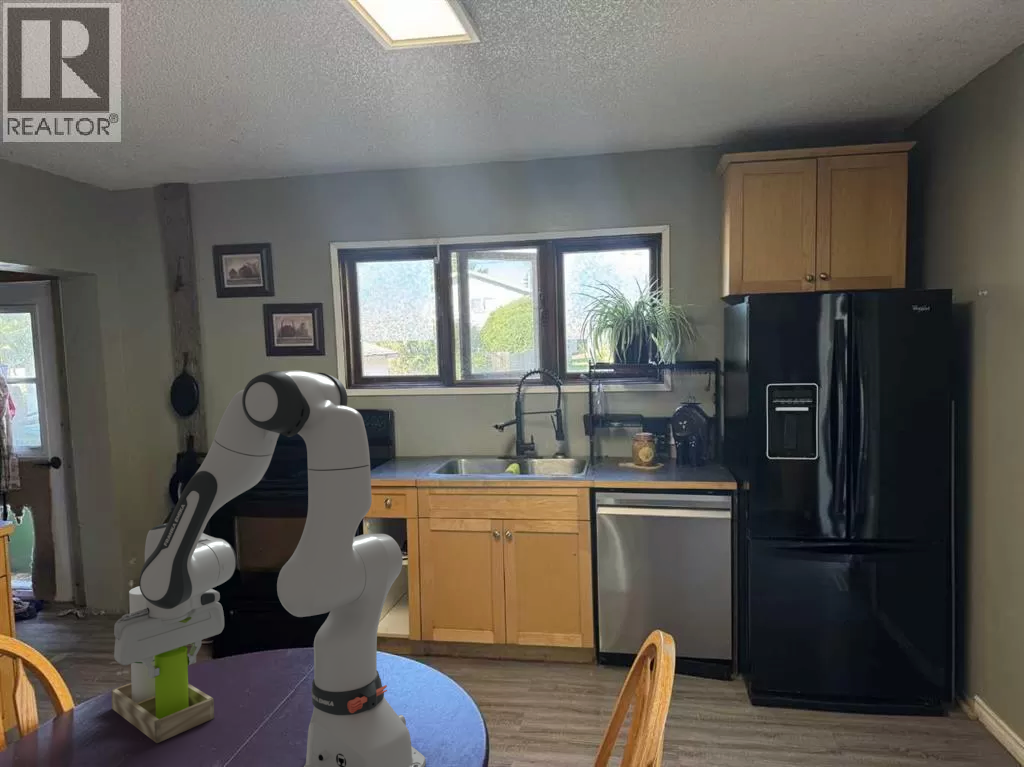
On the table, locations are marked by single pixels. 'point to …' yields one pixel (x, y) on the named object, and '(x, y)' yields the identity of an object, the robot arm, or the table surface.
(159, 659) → the soap dispenser
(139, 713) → the frame
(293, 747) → the table surface
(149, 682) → the cylindrical container
